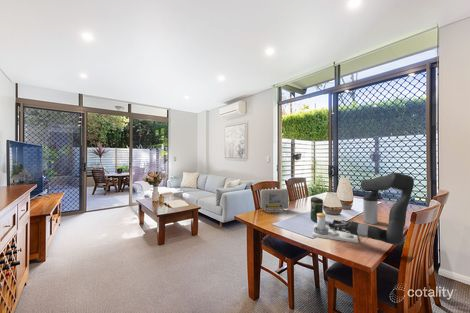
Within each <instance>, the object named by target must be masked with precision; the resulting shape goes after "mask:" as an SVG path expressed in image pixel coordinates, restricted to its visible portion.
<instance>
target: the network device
mask: <svg viewBox="0 0 470 313" xmlns="http://www.w3.org/2000/svg"><path fill="white" fill-rule="evenodd" d="M260 208H261V210H264V212H265V213H284V212H285V211H286V210H288V208H289V190H288V189H286V188H272V189H271V188H270V189H269V188H267V189H261V190H260ZM276 209H278V210H276Z"/></svg>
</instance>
